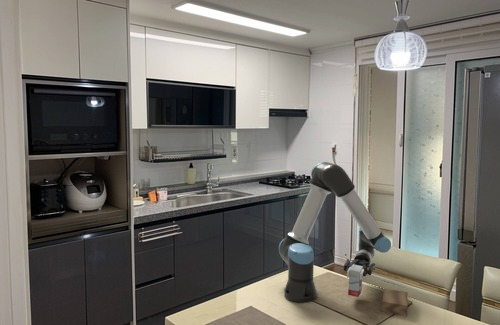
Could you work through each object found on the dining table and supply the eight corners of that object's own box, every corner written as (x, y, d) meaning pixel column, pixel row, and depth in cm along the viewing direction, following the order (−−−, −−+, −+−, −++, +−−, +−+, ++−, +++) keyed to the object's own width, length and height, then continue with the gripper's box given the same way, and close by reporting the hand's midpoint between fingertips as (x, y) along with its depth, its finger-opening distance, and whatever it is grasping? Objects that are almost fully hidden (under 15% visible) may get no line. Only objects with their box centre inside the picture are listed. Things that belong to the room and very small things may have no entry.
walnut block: (381, 312, 165) (382, 301, 164) (383, 299, 178) (384, 288, 177) (407, 317, 161) (407, 305, 160) (407, 302, 174) (407, 292, 173)
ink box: (358, 297, 170) (360, 272, 169) (347, 295, 172) (349, 269, 171) (362, 290, 178) (363, 265, 177) (351, 288, 180) (352, 263, 179)
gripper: (381, 270, 187) (375, 287, 166) (344, 264, 195) (333, 280, 174) (382, 255, 186) (375, 271, 165) (344, 249, 194) (334, 264, 173)
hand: (354, 275), depth 170 cm, fingers open, 5 cm apart
